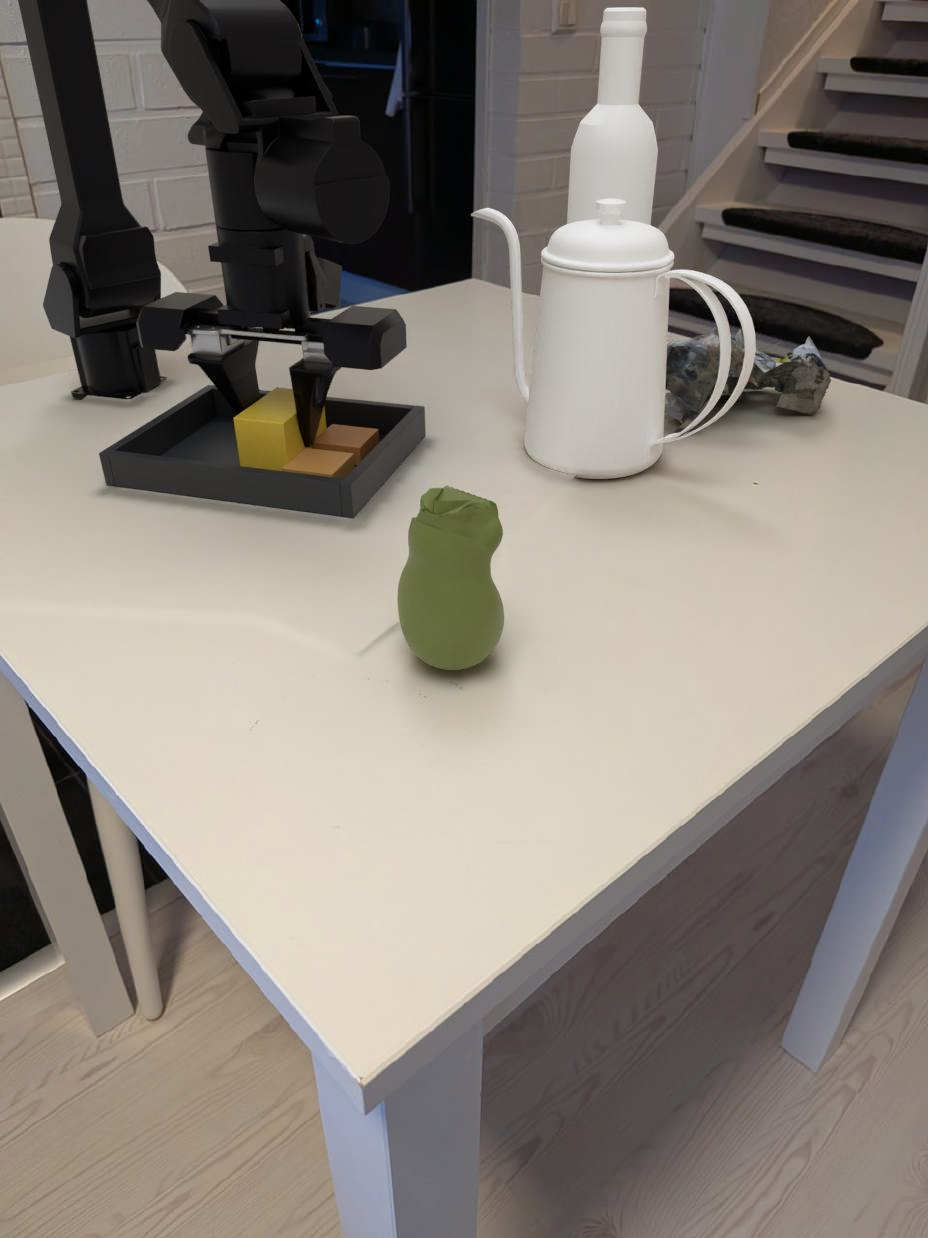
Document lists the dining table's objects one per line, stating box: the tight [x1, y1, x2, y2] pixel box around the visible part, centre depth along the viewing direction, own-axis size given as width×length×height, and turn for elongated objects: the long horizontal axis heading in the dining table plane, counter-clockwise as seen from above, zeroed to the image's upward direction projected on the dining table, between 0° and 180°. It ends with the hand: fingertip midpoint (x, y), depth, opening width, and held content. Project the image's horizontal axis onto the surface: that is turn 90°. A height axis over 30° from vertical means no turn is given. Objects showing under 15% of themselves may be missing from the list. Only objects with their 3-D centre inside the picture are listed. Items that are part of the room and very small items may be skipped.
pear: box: [396, 485, 505, 671], centre depth 47 cm, size 6×5×10 cm
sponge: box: [234, 386, 326, 471], centre depth 69 cm, size 4×7×4 cm, turn 163°
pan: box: [98, 384, 426, 519], centre depth 71 cm, size 20×16×3 cm
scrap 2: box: [312, 424, 379, 465], centre depth 71 cm, size 4×4×2 cm
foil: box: [664, 325, 832, 433], centre depth 79 cm, size 12×11×15 cm
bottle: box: [566, 6, 659, 226], centre depth 84 cm, size 8×8×30 cm
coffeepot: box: [470, 198, 757, 480], centre depth 68 cm, size 11×25×19 cm, turn 47°
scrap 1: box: [282, 448, 355, 479], centre depth 67 cm, size 4×4×2 cm
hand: (284, 442), depth 70 cm, fingers closed on sponge, 4 cm apart
